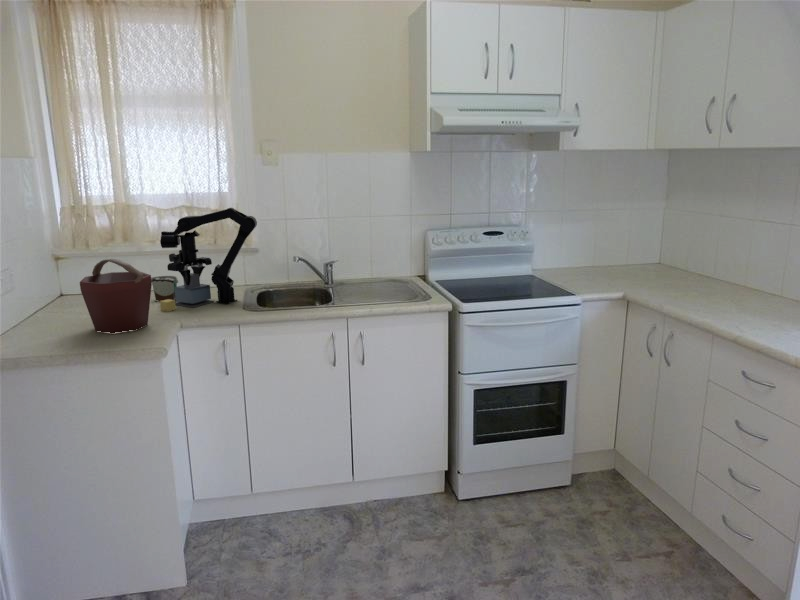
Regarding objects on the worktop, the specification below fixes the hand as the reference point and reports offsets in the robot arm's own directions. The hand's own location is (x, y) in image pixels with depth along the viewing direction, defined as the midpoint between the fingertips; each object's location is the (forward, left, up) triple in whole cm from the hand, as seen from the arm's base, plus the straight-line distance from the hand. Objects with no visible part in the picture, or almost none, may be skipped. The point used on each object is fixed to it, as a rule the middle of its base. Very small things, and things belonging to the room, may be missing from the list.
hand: (192, 284), depth 242 cm
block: (0, +13, -8) cm, 15 cm away
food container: (+15, 0, -8) cm, 17 cm away
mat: (0, 0, -8) cm, 8 cm away
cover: (0, 0, -7) cm, 7 cm away
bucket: (-6, +39, -8) cm, 40 cm away
